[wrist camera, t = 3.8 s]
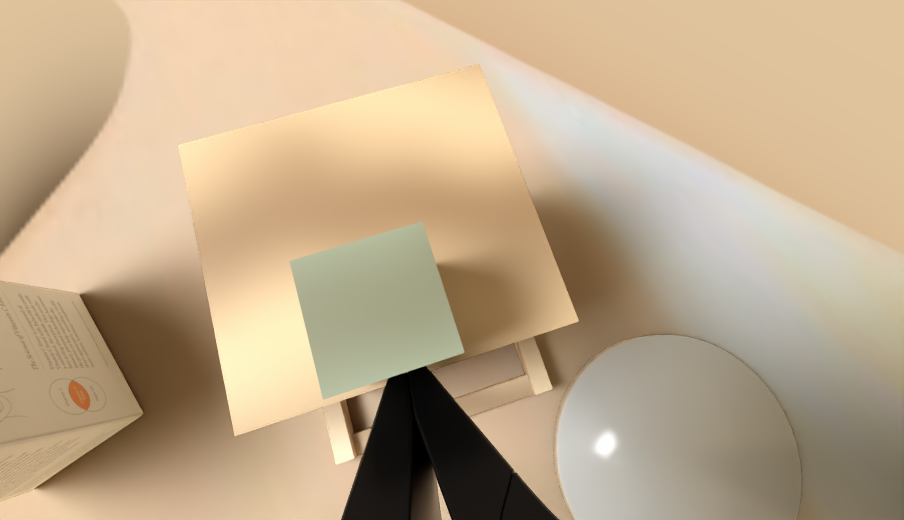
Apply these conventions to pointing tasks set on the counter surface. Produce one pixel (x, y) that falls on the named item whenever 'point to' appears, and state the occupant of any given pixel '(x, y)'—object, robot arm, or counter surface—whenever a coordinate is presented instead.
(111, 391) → the small box
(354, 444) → the track
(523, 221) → the wooden toy stool
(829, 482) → the counter surface
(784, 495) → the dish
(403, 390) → the robot arm
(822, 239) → the counter surface
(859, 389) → the counter surface
